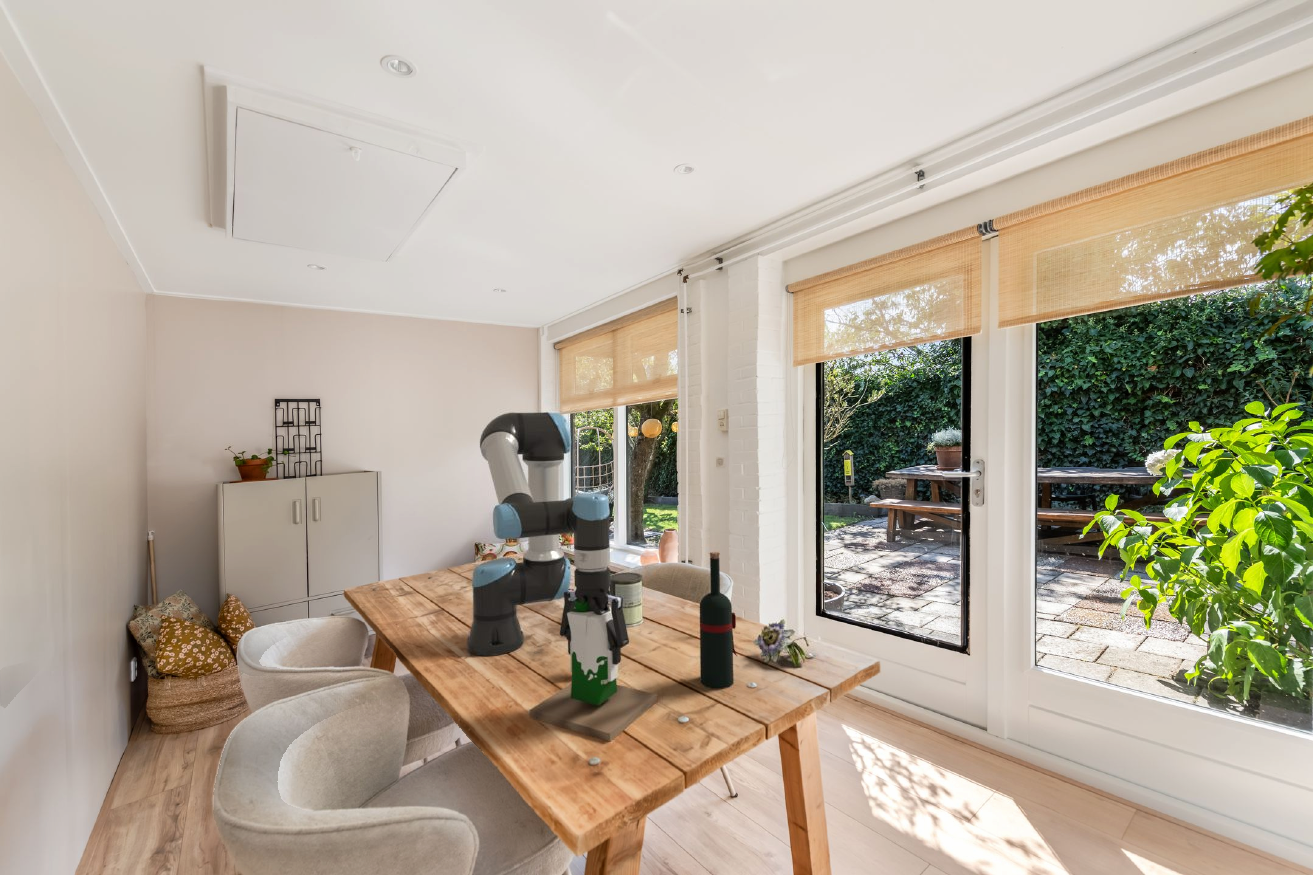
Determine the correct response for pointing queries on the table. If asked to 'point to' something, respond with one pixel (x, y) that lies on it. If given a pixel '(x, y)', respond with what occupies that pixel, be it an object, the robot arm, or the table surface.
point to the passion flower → (779, 643)
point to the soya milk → (590, 655)
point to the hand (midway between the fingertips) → (594, 674)
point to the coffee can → (628, 596)
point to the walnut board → (595, 712)
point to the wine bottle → (716, 633)
